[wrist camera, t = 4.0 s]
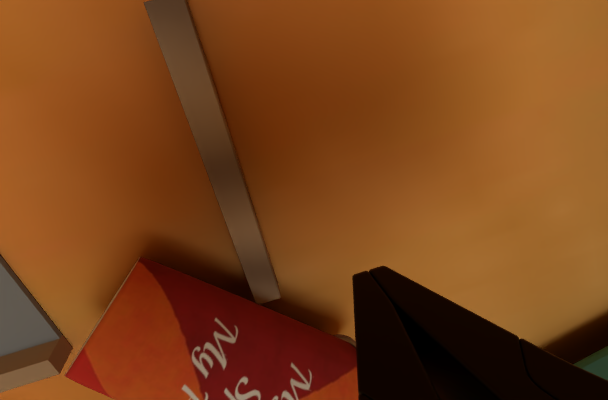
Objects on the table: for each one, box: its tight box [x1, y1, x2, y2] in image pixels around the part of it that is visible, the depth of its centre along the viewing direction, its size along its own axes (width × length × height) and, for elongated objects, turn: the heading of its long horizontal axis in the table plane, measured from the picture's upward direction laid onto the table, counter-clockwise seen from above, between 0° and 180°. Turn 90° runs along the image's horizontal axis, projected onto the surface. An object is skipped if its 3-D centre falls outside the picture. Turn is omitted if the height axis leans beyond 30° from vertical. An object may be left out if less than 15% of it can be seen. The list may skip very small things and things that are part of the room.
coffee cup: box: [65, 257, 359, 400], centre depth 19 cm, size 8×8×15 cm
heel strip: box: [144, 0, 281, 304], centre depth 17 cm, size 16×2×2 cm, turn 13°
